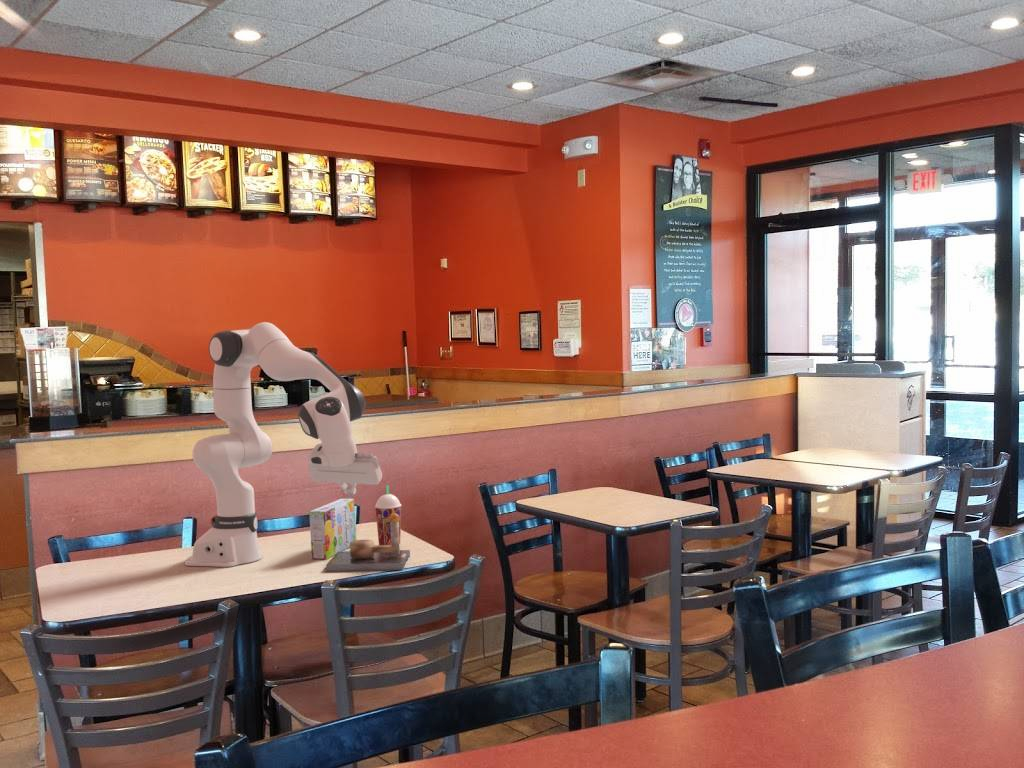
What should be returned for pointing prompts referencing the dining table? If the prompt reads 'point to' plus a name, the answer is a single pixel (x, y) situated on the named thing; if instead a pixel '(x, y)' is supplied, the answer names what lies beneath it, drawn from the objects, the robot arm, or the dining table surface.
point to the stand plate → (368, 562)
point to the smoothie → (387, 516)
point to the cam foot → (368, 548)
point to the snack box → (332, 528)
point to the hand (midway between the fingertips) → (350, 492)
